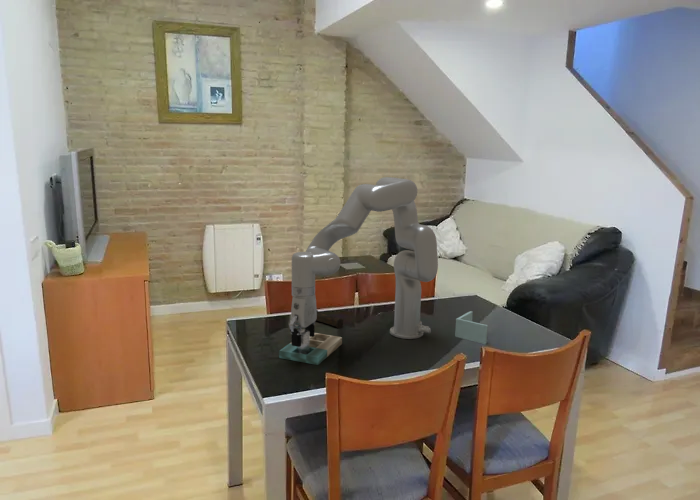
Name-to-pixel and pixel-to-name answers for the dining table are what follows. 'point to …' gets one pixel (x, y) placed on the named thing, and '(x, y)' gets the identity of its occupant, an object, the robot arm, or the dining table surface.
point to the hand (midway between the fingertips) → (303, 340)
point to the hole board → (313, 349)
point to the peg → (304, 342)
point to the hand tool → (330, 320)
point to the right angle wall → (471, 329)
